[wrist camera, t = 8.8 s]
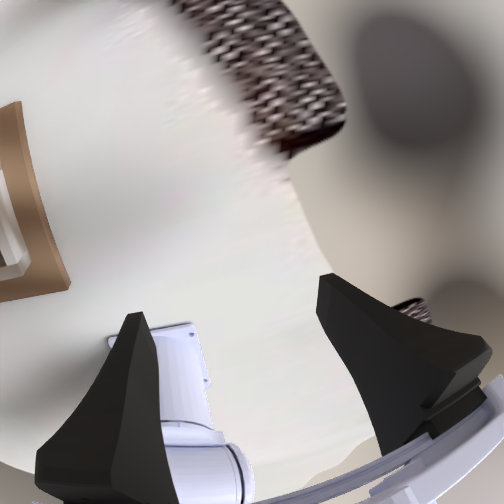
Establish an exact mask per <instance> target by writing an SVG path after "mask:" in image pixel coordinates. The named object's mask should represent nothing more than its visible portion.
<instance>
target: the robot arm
mask: <svg viewBox="0 0 504 504" xmlns="http://www.w3.org/2000/svg"><path fill="white" fill-rule="evenodd" d="M316 314H317V316H318V318H319V321H320V323H321V325H322V327H323V329H324V331H325V333H326V335H327V337H328V338H329V340H330V341H331V343H332V345H333V346H334V348H335V349H336V351H337V353H338V354H339V356H340V357H341V359H342V361H343V362H344V364H345V365H346V367H347V369H348V370H349V372H350V374H351V376H352V378H353V380H354V382H355V384H356V386H357V388H358V390H359V393H360V395H361V397H362V400H363V402H364V404H365V407H366V409H367V412H368V414H369V417H370V420H371V422H372V425H373V428H374V431H375V434H376V437H377V440H378V443H379V447H380V450H381V454H382V457H381V458H379V459H377V460H375V461H373V462H371V463H369V464H367V465H364V466H362V467H360V468H358V469H355V470H353V471H351V472H348V473H346V474H343V475H341V476H338V477H336V478H333V479H331V480H328V481H325V482H323V483H320V484H317V485H314V486H311V487H308V488H305V489H302V490H299V491H296V492H292V493H289V494H286V495H282V496H278V497H275V498H271V499H267V500H263V501H259V502H254V503H252V502H253V500H254V495H255V480H254V474H253V470H252V467H251V464H250V462H249V460H248V458H247V457H246V455H245V454H244V453H243V452H242V451H241V450H240V448H239V447H238V446H236V445H235V444H233V443H226V441H225V437H224V433H223V432H222V431H215V430H214V426H213V422H212V418H211V413H210V409H209V404H208V400H207V395H206V390H205V389H206V388H209V387H211V381H210V378H209V375H208V371H207V368H206V364H205V360H204V357H203V353H202V350H201V346H200V342H199V338H198V335H197V331H196V327H195V325H193V324H185V325H180V326H174V327H169V328H163V329H158V330H152V331H150V330H149V327H148V325H147V322H146V320H145V317H144V314H143V312H137V313H131V314H128V315H127V316H126V318H125V320H124V322H123V325H122V327H121V329H120V332H119V334H118V336H115V337H110V338H109V340H108V344H109V346H110V348H111V351H110V353H109V355H108V357H107V359H106V361H105V363H104V365H103V367H102V368H101V370H100V372H99V374H98V376H97V378H96V379H95V381H94V383H93V384H92V386H91V388H90V389H89V391H88V392H87V394H86V395H85V397H84V398H83V400H82V401H81V402H80V404H79V405H78V407H77V408H76V409H75V411H74V412H73V413H72V415H71V416H70V417H69V418H68V419H67V421H66V422H65V423H64V424H63V425H62V426H61V427H60V429H59V430H58V431H57V432H56V433H55V434H54V435H53V436H52V437H51V438H50V439H49V440H48V441H47V442H46V443H45V444H44V445H43V446H42V447H40V448H39V449H38V450H37V453H36V462H35V485H36V486H37V487H38V488H39V489H41V490H42V491H44V492H46V493H48V494H50V495H52V496H54V497H56V498H58V499H60V500H62V501H64V504H318V503H321V502H324V501H326V500H329V499H332V498H335V497H337V496H339V495H342V494H345V493H347V492H349V491H352V490H354V489H356V488H359V487H361V486H363V485H365V484H367V483H369V482H372V481H373V480H376V479H378V478H380V477H382V476H384V475H386V474H388V473H390V472H391V471H393V470H395V469H397V468H399V467H401V466H402V465H404V464H405V465H404V467H403V468H401V469H400V470H398V471H396V472H395V473H393V474H392V475H390V476H388V477H386V478H384V480H383V481H382V482H381V483H379V484H378V485H377V486H375V487H373V488H372V489H370V490H369V493H370V495H371V497H370V498H367V499H365V500H363V501H361V502H359V503H356V504H437V502H436V499H437V498H438V497H440V496H441V495H442V494H444V493H445V492H446V491H447V490H449V489H450V488H451V487H452V486H454V485H455V484H456V483H457V482H459V481H460V480H461V479H462V478H463V477H464V476H466V475H467V474H468V473H469V472H470V471H471V470H472V469H474V468H475V467H476V466H477V465H478V464H479V463H480V462H481V461H482V460H483V459H484V458H485V457H486V456H487V455H488V454H489V453H490V452H491V451H492V450H493V449H494V448H495V447H496V446H497V445H498V444H499V443H500V442H501V441H502V440H503V439H504V377H503V376H502V375H501V374H500V375H498V376H497V377H496V378H495V379H494V380H492V381H491V382H490V383H489V384H488V385H486V387H484V388H483V389H482V390H481V389H480V387H479V385H480V384H481V381H480V379H479V378H478V375H479V374H480V372H481V371H482V370H483V368H484V367H485V365H486V364H487V363H488V361H489V359H490V357H491V355H492V348H491V347H490V346H489V345H488V344H487V343H486V341H485V340H484V339H483V338H482V337H481V336H477V335H471V334H465V333H459V332H455V331H451V330H447V329H443V328H440V327H436V326H434V325H431V324H428V323H425V322H422V321H420V320H417V319H414V318H412V317H410V316H408V315H405V314H403V313H401V312H399V311H397V310H395V309H393V308H391V307H389V306H387V305H385V304H384V303H382V302H380V301H378V300H376V299H375V298H373V297H371V296H370V295H368V294H366V293H365V292H363V291H361V290H360V289H358V288H357V287H355V286H353V285H352V284H350V283H349V282H347V281H345V280H344V279H342V278H341V277H339V276H337V275H336V274H334V273H330V274H326V275H322V276H320V278H319V289H318V298H317V307H316ZM189 333H192V334H189ZM32 504H45V503H40V502H35V501H33V502H32Z"/></svg>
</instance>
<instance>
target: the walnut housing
mask: <svg viewBox="0 0 504 504" xmlns="http://www.w3.org/2000/svg"><path fill="white" fill-rule="evenodd" d="M70 283H71V282H70V279H69V277H68V274H67V272H66V270H65V267H64V265H63V262H62V260H61V257H60V254H59V252H58V249H57V246H56V244H55V241H54V238H53V235H52V232H51V229H50V226H49V223H48V220H47V217H46V214H45V211H44V207H43V204H42V201H41V197H40V194H39V190H38V186H37V182H36V179H35V175H34V170H33V166H32V162H31V157H30V153H29V148H28V143H27V137H26V132H25V126H24V119H23V112H22V105H21V101H19V102H14V103H11V104H9V105H7V106H5V107H3V108H1V109H0V303H1V302H6V301H12V300H17V299H23V298H28V297H33V296H39V295H44V294H49V293H55V292H60V291H66V290H68V289H69V286H70Z"/></svg>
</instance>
